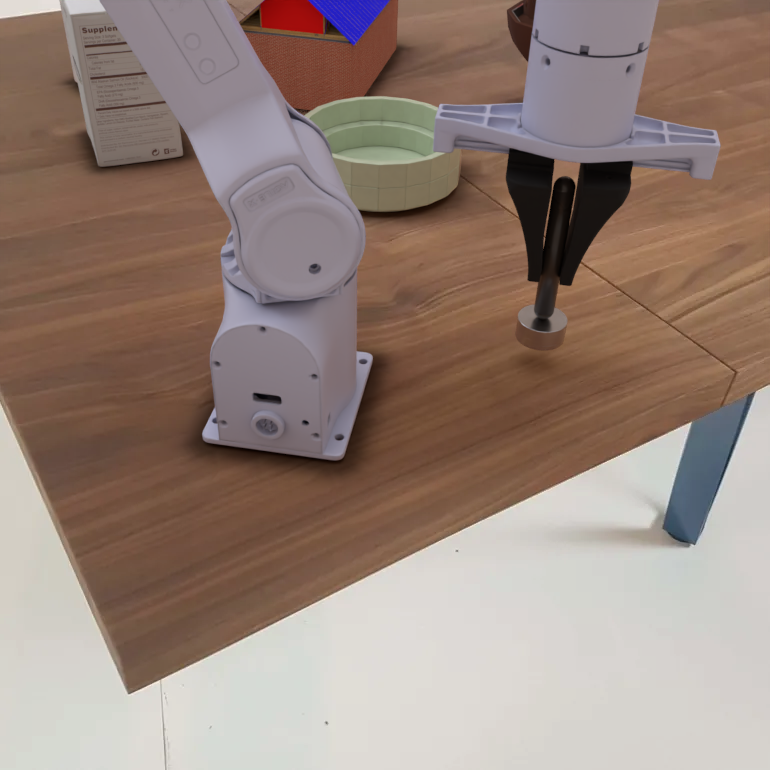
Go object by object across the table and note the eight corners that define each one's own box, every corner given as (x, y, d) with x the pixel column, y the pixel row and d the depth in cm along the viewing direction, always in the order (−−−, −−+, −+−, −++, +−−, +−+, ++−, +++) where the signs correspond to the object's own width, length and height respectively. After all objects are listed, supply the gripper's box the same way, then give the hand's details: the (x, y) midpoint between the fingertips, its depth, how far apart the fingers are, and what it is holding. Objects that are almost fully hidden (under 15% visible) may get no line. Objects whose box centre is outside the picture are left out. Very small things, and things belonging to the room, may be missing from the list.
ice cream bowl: (613, 146, 82) (647, -31, 73) (489, 133, 84) (507, -42, 75) (614, 102, 91) (645, -62, 81) (501, 91, 92) (519, -72, 83)
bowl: (449, 226, 70) (453, 172, 68) (282, 208, 72) (279, 154, 69) (466, 153, 80) (470, 104, 78) (319, 139, 82) (319, 90, 79)
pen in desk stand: (563, 353, 55) (594, 192, 48) (513, 347, 55) (537, 186, 48) (564, 325, 57) (594, 167, 50) (516, 319, 57) (539, 162, 51)
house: (233, 102, 88) (222, -27, 81) (296, 36, 103) (292, -77, 96) (353, 116, 86) (354, -14, 79) (400, 47, 101) (404, -68, 94)
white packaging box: (86, 134, 81) (57, -15, 74) (169, 124, 84) (150, -22, 76) (96, 169, 76) (67, 13, 68) (185, 158, 78) (166, 4, 70)
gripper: (732, 24, 47) (672, 254, 56) (452, 1, 49) (435, 227, 57) (751, 73, 42) (681, 319, 50) (435, 45, 43) (419, 287, 52)
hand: (550, 274), depth 53 cm, fingers closed on pen in desk stand
